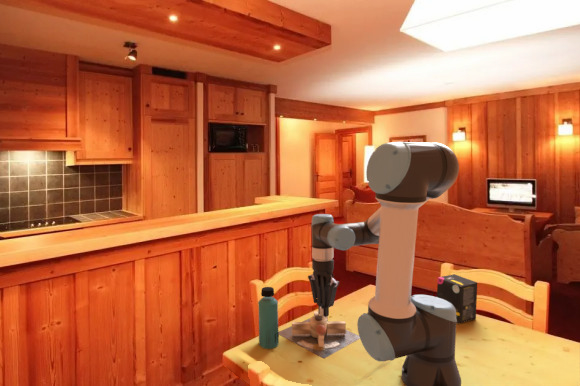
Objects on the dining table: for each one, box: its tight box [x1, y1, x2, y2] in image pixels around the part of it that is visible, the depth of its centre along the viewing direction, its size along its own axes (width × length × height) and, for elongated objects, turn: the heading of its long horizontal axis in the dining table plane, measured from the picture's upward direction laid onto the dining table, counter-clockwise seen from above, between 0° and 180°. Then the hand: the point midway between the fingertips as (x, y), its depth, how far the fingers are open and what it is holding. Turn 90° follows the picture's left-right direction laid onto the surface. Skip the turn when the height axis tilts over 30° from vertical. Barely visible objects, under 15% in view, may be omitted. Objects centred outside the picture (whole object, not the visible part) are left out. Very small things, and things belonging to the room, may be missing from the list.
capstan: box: [291, 310, 347, 347], centre depth 123 cm, size 18×19×7 cm
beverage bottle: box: [257, 286, 280, 350], centre depth 117 cm, size 6×7×20 cm
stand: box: [278, 318, 361, 359], centre depth 124 cm, size 22×19×2 cm
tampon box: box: [436, 274, 478, 325], centre depth 140 cm, size 11×9×15 cm
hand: (323, 324), depth 129 cm, fingers closed
